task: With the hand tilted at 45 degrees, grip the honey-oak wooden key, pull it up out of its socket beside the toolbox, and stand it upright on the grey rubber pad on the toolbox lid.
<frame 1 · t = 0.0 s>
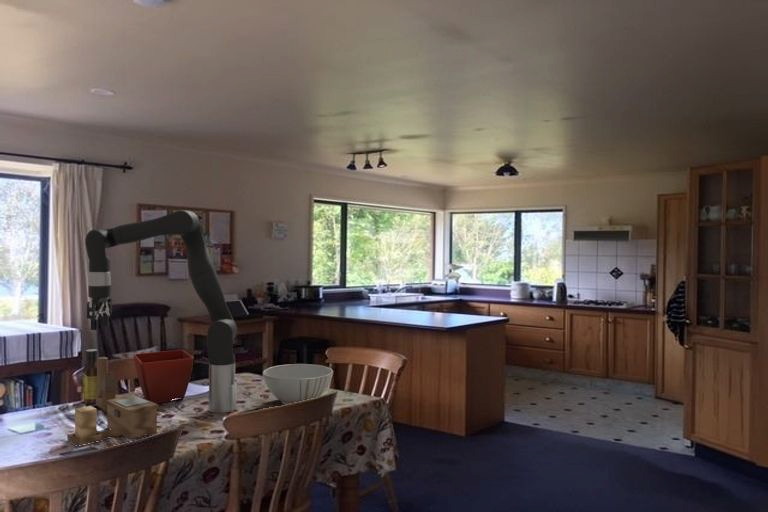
hand: (99, 328, 224), 29 cm above the table, tool pointing down, fingers open, 8 cm apart
wooden block: (105, 408, 225), on the table
sauce bottle: (92, 402, 233), on the table
decorative bowl: (297, 402, 236), on the table
wooden key: (85, 440, 189), resting in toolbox
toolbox: (131, 430, 200), on the table
plant pot: (163, 399, 239), on the table
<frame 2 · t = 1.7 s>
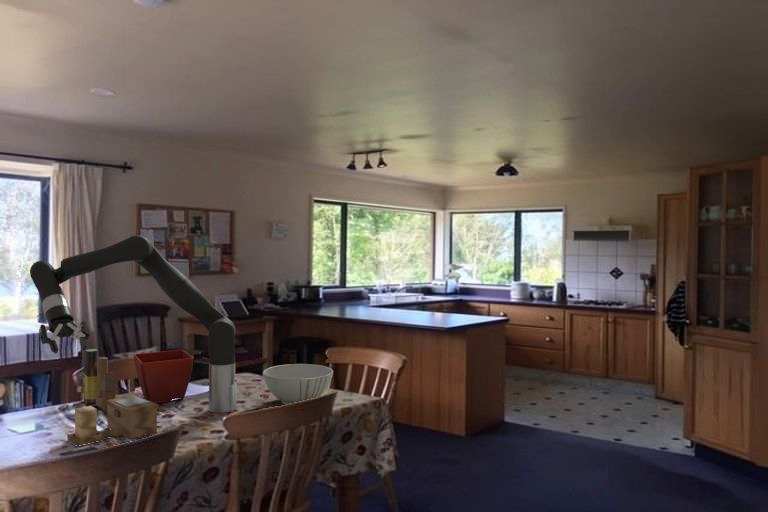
hand: (70, 350, 196), 26 cm above the table, tool tilted 45°, fingers open, 8 cm apart
nothing on the table moved.
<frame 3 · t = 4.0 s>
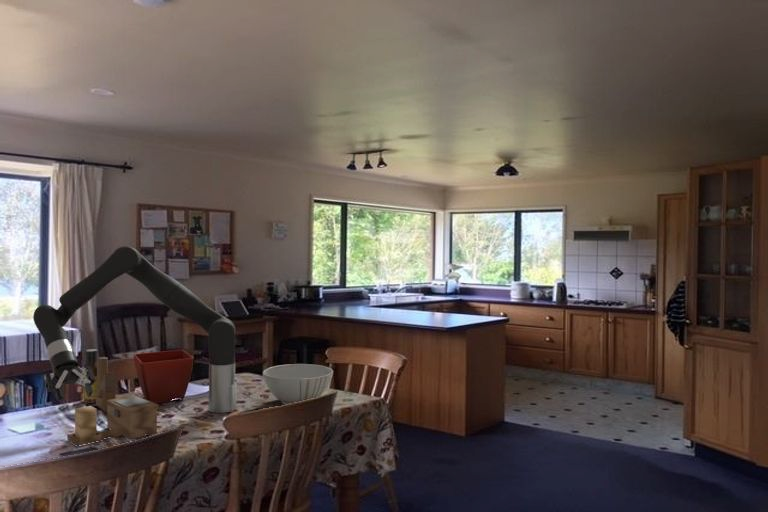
hand: (76, 397, 194), 12 cm above the table, tool tilted 45°, fingers open, 8 cm apart
nothing on the table moved.
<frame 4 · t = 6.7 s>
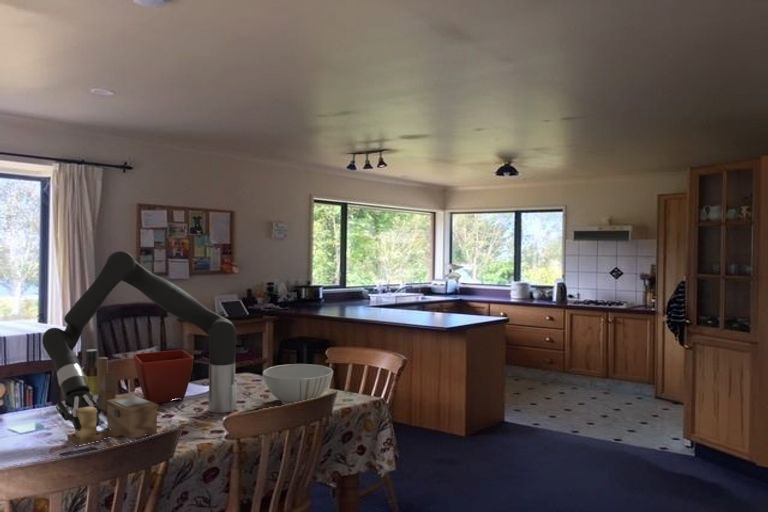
hand: (88, 427, 188), 5 cm above the table, tool tilted 45°, fingers closed on wooden key, 4 cm apart
wooden key: (85, 440, 189), resting in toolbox, touching gripper
everything else where it was.
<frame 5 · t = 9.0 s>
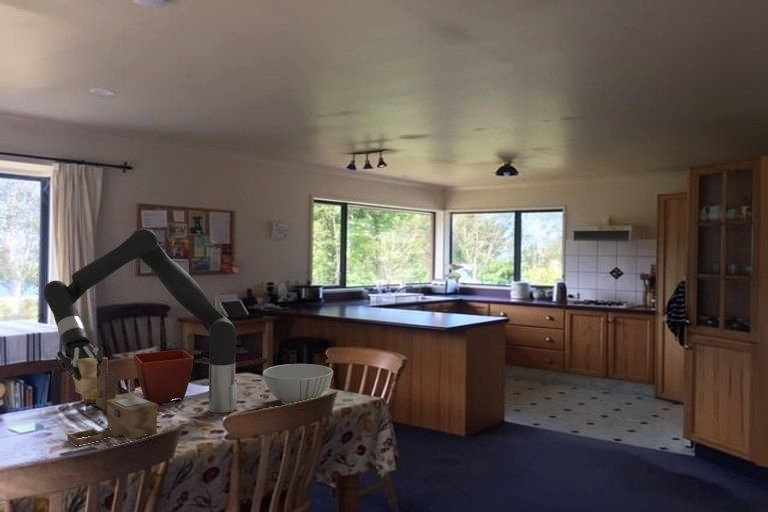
hand: (88, 377, 187), 20 cm above the table, tool tilted 45°, fingers closed on wooden key, 4 cm apart
wooden key: (86, 391, 189), point 15 cm above the table, touching gripper
everything else where it was.
when the fingers open (16 cm above the table, at t = 11.4 s): wooden key drops 1 cm, resting on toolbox.
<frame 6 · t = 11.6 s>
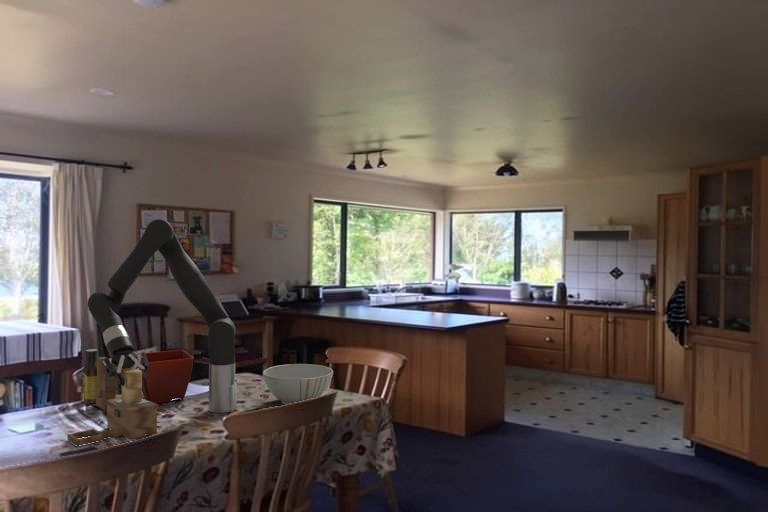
hand: (134, 382, 198), 16 cm above the table, tool tilted 45°, fingers open, 6 cm apart
wooden key: (131, 401, 199), point 9 cm above the table, touching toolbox
everything else where it was.
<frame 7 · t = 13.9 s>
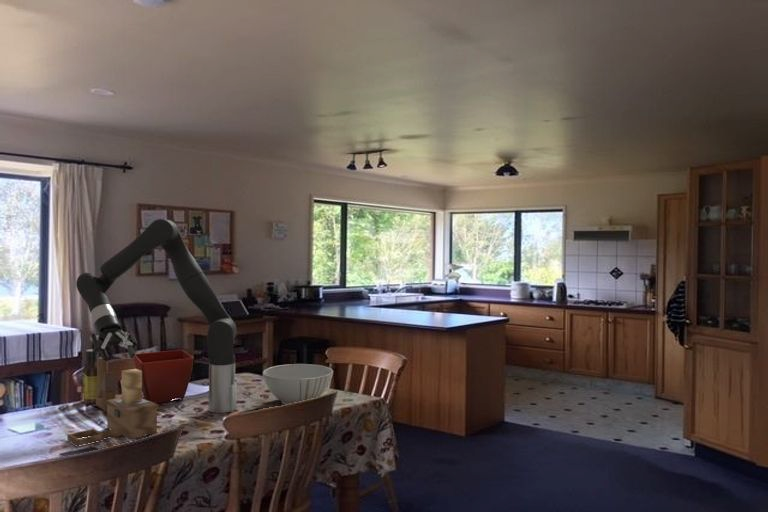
hand: (120, 358, 204), 22 cm above the table, tool tilted 45°, fingers open, 8 cm apart
nothing on the table moved.
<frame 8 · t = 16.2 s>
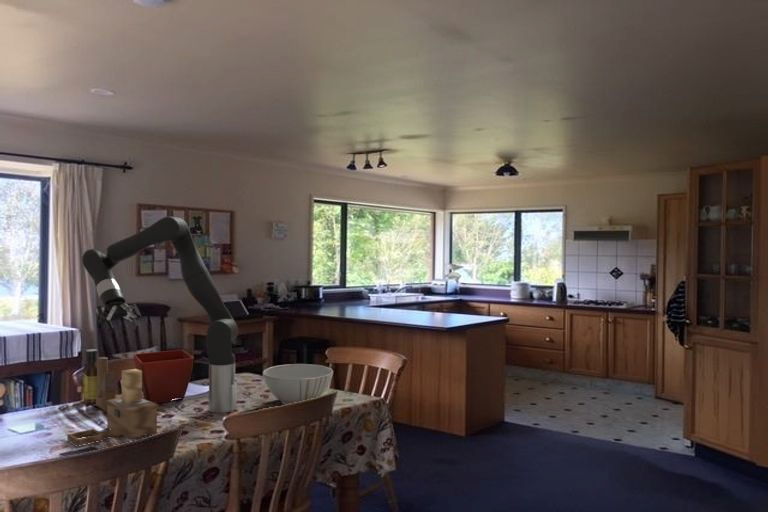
hand: (124, 329, 213), 31 cm above the table, tool tilted 45°, fingers open, 8 cm apart
nothing on the table moved.
at the end: wooden key inside the target area on the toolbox (0.1 cm from its centre), point 9.5 cm above the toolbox's base; wooden key tilted 0°; the gripper is holding nothing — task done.
